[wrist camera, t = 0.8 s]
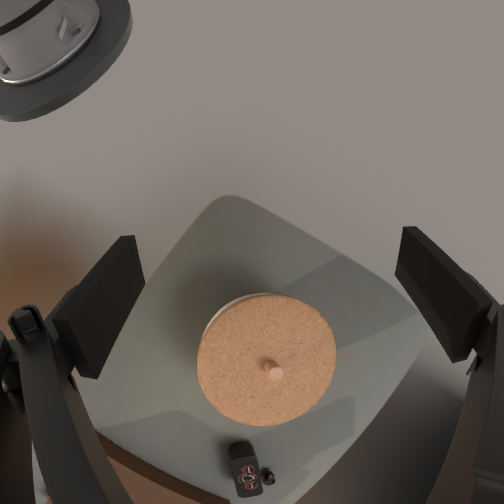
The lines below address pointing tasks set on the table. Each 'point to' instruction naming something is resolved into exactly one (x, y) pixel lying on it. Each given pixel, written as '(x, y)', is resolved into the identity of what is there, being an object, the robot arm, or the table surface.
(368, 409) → the table surface
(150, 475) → the tray
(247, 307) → the trinket box
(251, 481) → the wireless earbuds
